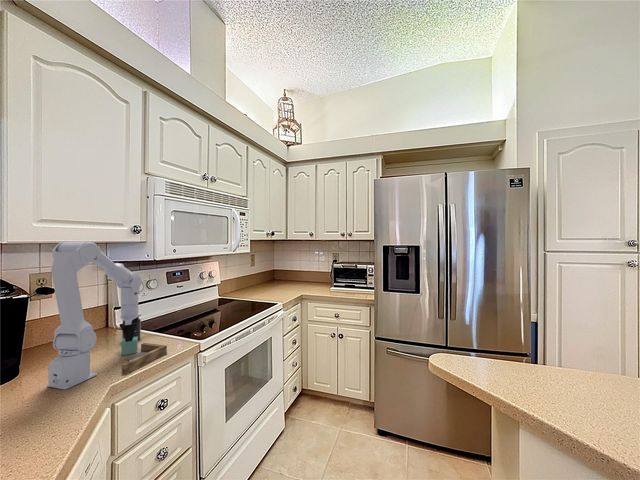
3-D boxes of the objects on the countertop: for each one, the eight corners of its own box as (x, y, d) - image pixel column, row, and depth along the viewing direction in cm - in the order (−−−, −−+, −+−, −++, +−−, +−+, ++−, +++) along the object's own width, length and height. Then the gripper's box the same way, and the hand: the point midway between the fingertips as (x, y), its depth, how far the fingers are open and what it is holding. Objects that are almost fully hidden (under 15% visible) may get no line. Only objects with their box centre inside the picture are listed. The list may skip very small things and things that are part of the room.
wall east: (163, 354, 108) (163, 347, 108) (141, 351, 111) (141, 344, 111) (166, 353, 110) (166, 345, 110) (144, 350, 113) (144, 342, 113)
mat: (139, 361, 102) (139, 361, 102) (124, 359, 104) (124, 359, 104) (155, 354, 109) (155, 353, 109) (140, 352, 111) (140, 351, 111)
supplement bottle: (131, 343, 120) (131, 315, 120) (118, 342, 121) (117, 314, 121) (144, 338, 126) (144, 311, 126) (131, 336, 128) (131, 310, 128)
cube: (136, 352, 110) (136, 340, 110) (121, 355, 108) (121, 342, 108) (137, 348, 115) (137, 336, 115) (122, 350, 112) (122, 338, 112)
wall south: (125, 374, 93) (125, 365, 93) (122, 373, 93) (121, 364, 93) (163, 354, 108) (163, 347, 108) (160, 354, 109) (160, 346, 109)
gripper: (140, 306, 107) (140, 342, 107) (142, 299, 120) (142, 331, 120) (118, 309, 103) (118, 345, 104) (122, 301, 116) (122, 333, 116)
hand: (129, 338), depth 111 cm, fingers open, 7 cm apart
